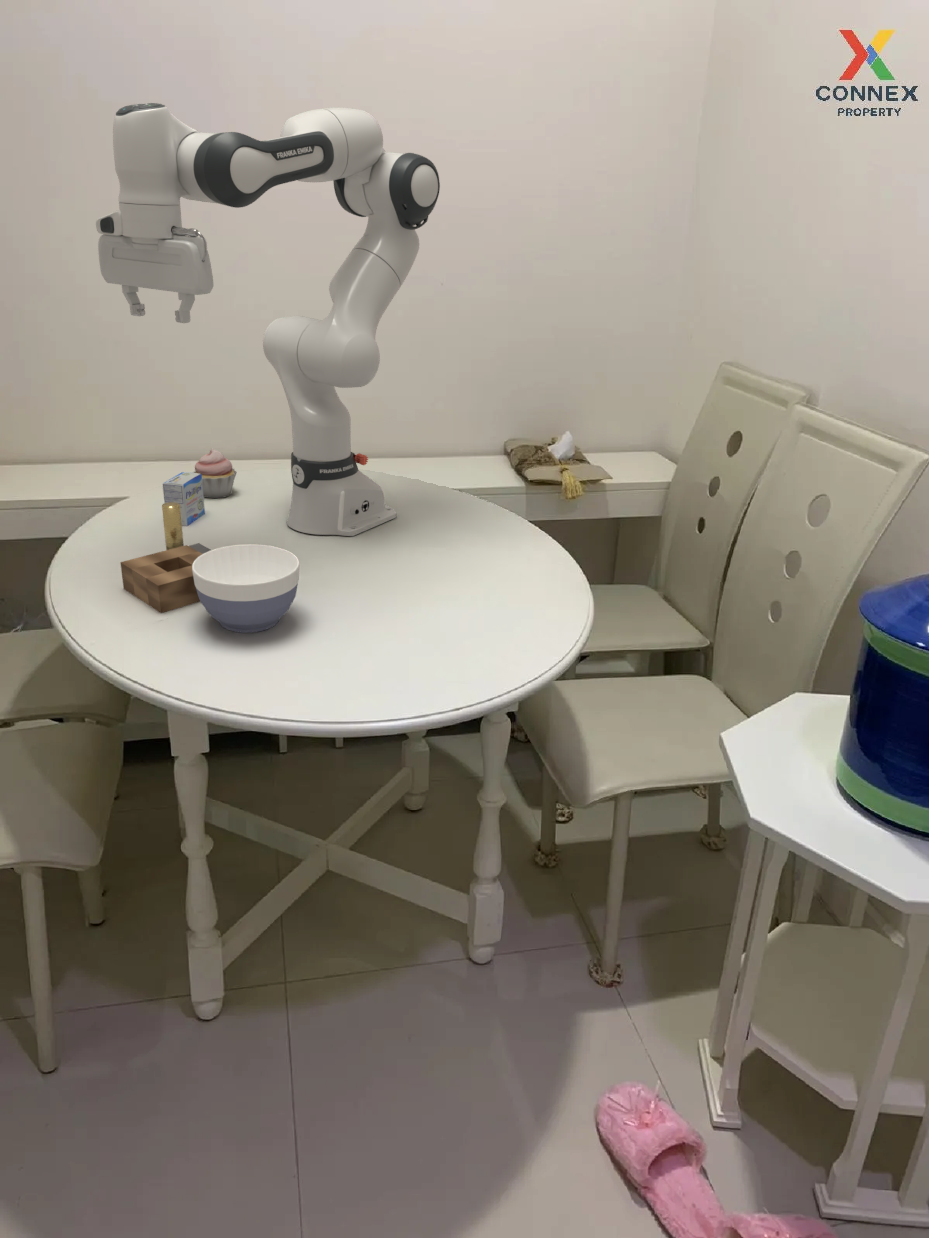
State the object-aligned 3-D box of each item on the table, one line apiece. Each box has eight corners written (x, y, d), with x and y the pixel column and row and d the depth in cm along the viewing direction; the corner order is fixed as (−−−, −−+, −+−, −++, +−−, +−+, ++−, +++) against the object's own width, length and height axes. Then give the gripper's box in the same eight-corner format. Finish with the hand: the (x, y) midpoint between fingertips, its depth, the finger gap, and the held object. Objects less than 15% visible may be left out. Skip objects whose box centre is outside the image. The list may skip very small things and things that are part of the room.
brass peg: (179, 554, 166) (174, 501, 161) (188, 559, 164) (183, 505, 160) (163, 558, 164) (158, 504, 159) (172, 563, 162) (167, 509, 158)
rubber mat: (199, 544, 171) (198, 543, 171) (222, 557, 166) (222, 555, 166) (149, 557, 165) (149, 555, 164) (172, 571, 160) (172, 569, 160)
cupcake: (193, 487, 200) (189, 442, 196) (237, 486, 202) (235, 441, 198) (192, 501, 192) (188, 455, 188) (238, 500, 194) (236, 454, 190)
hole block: (189, 572, 160) (186, 545, 158) (227, 594, 152) (225, 566, 150) (123, 590, 152) (120, 562, 150) (161, 614, 145) (158, 585, 142)
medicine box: (187, 528, 179) (183, 484, 175) (165, 525, 179) (161, 482, 175) (205, 514, 186) (202, 473, 182) (185, 512, 186) (181, 470, 182)
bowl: (213, 595, 152) (209, 541, 148) (309, 601, 152) (308, 547, 147) (183, 639, 138) (177, 581, 133) (289, 646, 137) (287, 587, 133)
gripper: (219, 229, 139) (225, 324, 145) (118, 219, 147) (128, 310, 153) (189, 230, 134) (197, 329, 140) (87, 220, 142) (98, 314, 148)
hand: (160, 319), depth 146 cm, fingers open, 8 cm apart
